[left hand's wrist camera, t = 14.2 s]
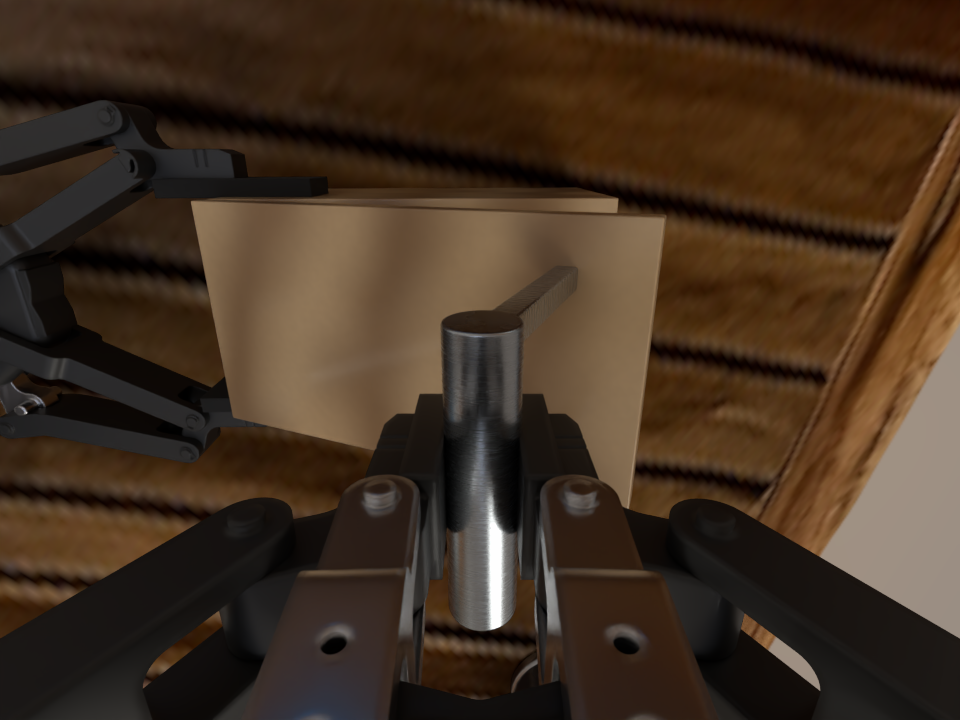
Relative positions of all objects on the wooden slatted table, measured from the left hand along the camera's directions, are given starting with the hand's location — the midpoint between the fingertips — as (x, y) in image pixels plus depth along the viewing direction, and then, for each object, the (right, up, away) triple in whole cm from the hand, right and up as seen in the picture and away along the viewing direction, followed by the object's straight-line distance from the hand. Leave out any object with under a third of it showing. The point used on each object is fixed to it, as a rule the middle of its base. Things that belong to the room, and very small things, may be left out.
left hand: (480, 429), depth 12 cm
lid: (-3, +3, +7) cm, 8 cm away
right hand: (-7, +5, +12) cm, 15 cm away
